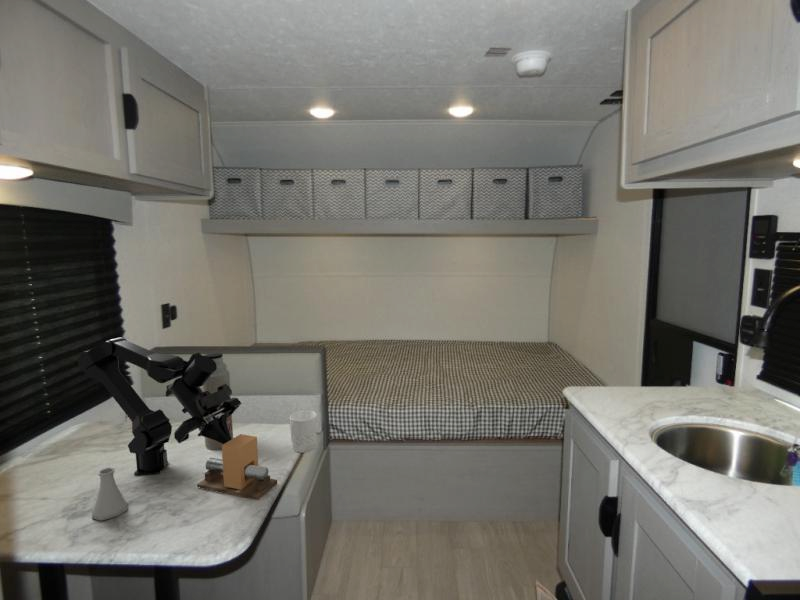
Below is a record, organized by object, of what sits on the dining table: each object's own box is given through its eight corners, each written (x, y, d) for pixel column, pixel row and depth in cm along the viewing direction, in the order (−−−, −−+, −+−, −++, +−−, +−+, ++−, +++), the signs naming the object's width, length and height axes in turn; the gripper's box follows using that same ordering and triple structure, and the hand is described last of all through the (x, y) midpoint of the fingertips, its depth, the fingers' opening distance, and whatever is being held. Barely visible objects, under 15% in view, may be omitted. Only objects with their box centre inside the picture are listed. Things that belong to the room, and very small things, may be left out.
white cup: (291, 455, 133) (289, 422, 132) (290, 444, 141) (288, 412, 139) (319, 451, 135) (317, 419, 134) (316, 440, 143) (315, 409, 141)
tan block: (224, 486, 114) (221, 445, 112) (242, 472, 120) (240, 434, 119) (241, 489, 112) (238, 448, 111) (258, 475, 119) (256, 436, 117)
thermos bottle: (238, 442, 142) (233, 353, 138) (214, 452, 136) (208, 358, 132) (223, 436, 147) (218, 349, 143) (200, 445, 140) (194, 354, 137)
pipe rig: (197, 487, 116) (195, 464, 115) (219, 472, 123) (217, 450, 123) (258, 500, 110) (256, 475, 109) (277, 483, 118) (276, 460, 117)
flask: (121, 499, 111) (117, 460, 110) (133, 510, 107) (130, 469, 105) (86, 513, 106) (82, 471, 104) (97, 525, 101) (93, 482, 100)
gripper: (180, 388, 107) (222, 440, 105) (233, 367, 124) (270, 411, 122) (156, 418, 110) (196, 468, 108) (211, 393, 128) (247, 436, 126)
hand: (230, 444), depth 116 cm, fingers closed, pressing on tan block
